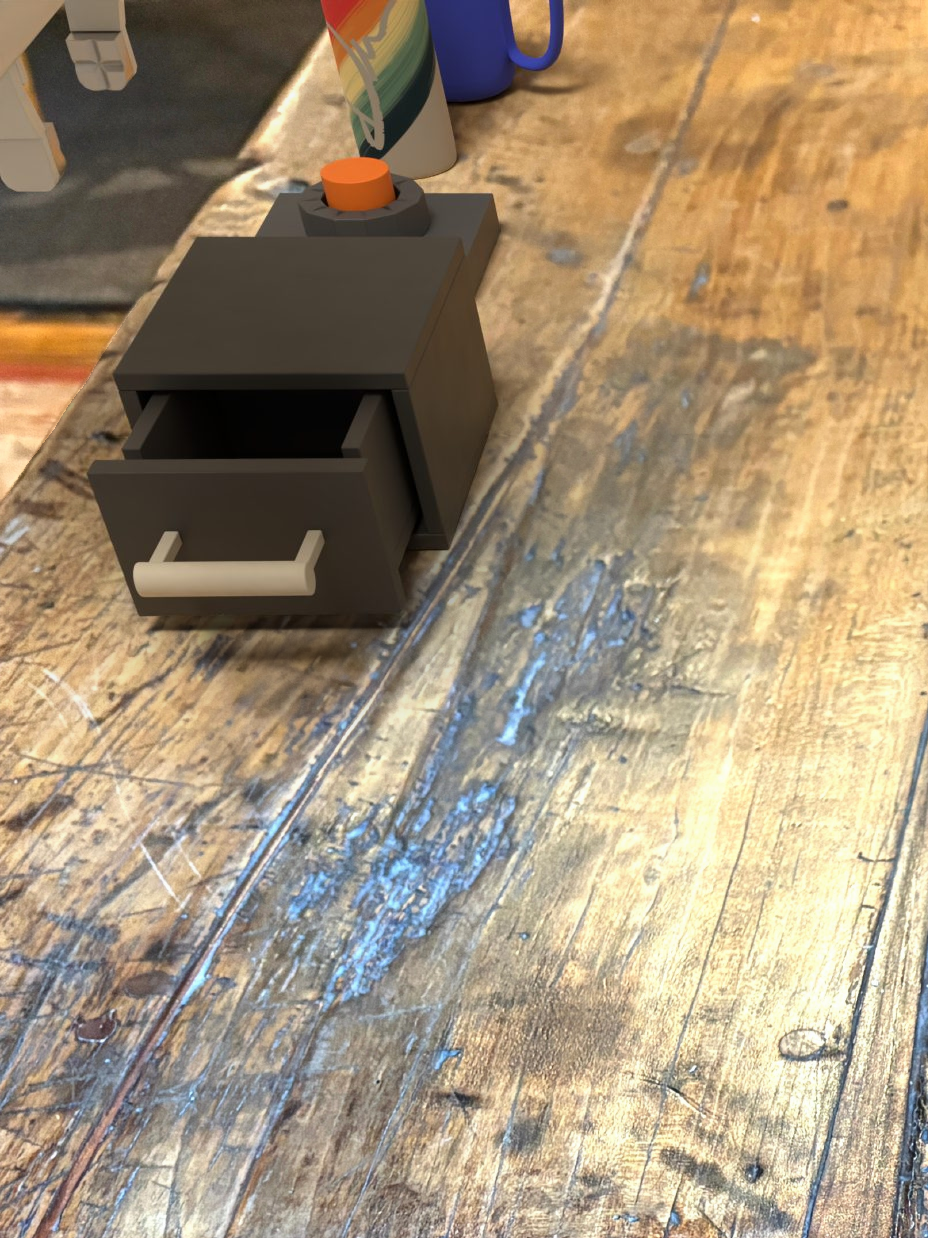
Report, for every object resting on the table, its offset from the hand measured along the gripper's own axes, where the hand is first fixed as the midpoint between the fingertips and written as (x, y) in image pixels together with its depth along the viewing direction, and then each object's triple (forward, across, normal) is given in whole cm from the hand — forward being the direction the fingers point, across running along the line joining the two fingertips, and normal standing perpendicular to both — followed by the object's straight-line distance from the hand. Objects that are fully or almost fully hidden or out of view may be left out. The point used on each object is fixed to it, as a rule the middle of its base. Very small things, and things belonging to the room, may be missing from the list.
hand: (76, 132), depth 80 cm
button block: (+23, -42, -2) cm, 48 cm away
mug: (+23, -69, 0) cm, 73 cm away
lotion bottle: (+23, -57, -3) cm, 61 cm away
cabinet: (+23, -18, 0) cm, 29 cm away
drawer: (+22, -8, 0) cm, 23 cm away
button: (+19, -42, -2) cm, 46 cm away
